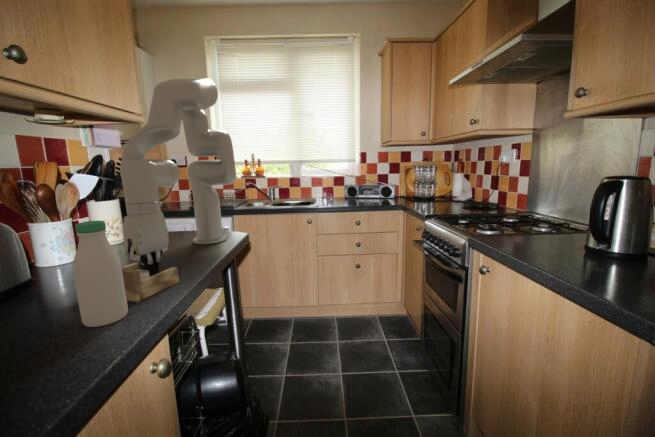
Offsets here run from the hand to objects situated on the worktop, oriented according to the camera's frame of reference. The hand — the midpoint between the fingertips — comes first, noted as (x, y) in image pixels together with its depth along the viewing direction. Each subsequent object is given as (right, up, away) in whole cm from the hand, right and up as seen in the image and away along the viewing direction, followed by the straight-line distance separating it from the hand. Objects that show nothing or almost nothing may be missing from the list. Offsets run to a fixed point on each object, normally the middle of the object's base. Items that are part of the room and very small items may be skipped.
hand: (153, 276), depth 83 cm
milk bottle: (+2, -5, -20) cm, 20 cm away
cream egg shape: (-2, -2, -5) cm, 6 cm away
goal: (-1, -2, -4) cm, 5 cm away
